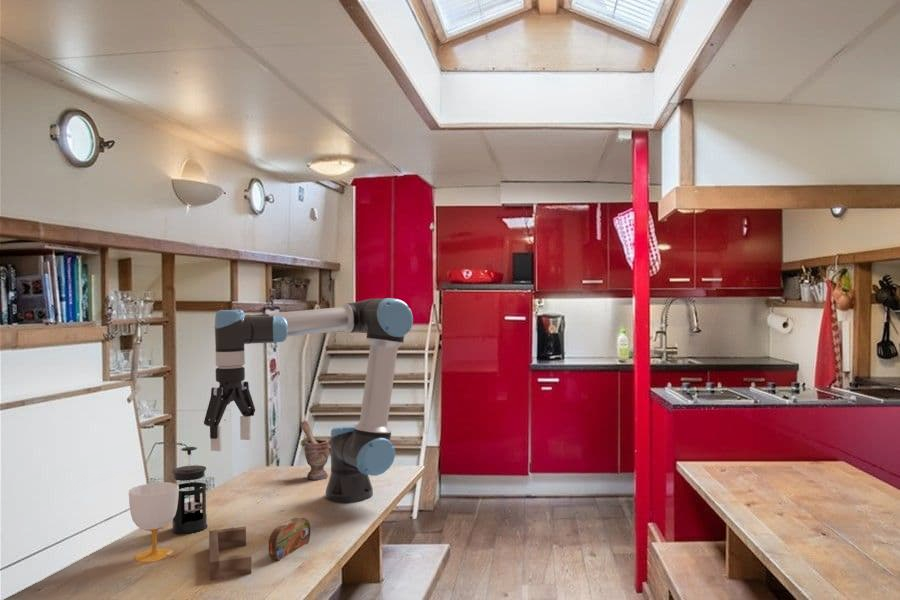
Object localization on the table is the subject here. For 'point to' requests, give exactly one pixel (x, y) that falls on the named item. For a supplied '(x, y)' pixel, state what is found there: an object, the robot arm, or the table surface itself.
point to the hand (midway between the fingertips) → (231, 445)
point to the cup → (153, 513)
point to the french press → (189, 513)
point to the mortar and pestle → (315, 454)
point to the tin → (288, 538)
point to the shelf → (232, 563)
